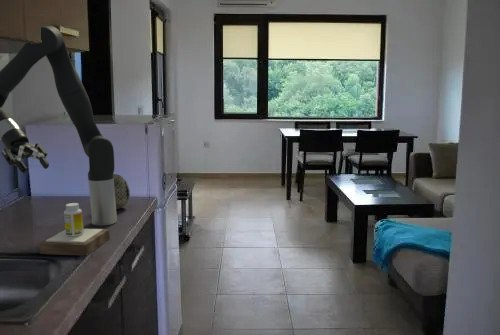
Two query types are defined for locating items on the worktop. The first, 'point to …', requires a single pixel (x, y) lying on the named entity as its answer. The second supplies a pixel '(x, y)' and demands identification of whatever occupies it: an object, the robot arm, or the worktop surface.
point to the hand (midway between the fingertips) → (36, 169)
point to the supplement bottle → (73, 220)
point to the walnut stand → (74, 242)
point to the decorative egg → (121, 191)
